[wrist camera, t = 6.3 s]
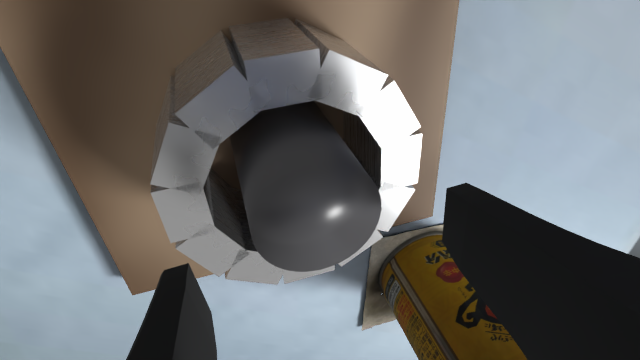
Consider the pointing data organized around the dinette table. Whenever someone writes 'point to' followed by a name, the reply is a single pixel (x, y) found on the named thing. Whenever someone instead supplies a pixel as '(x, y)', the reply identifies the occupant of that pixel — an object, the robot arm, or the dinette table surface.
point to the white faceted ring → (247, 101)
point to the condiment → (432, 301)
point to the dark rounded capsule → (303, 189)
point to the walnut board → (159, 64)
